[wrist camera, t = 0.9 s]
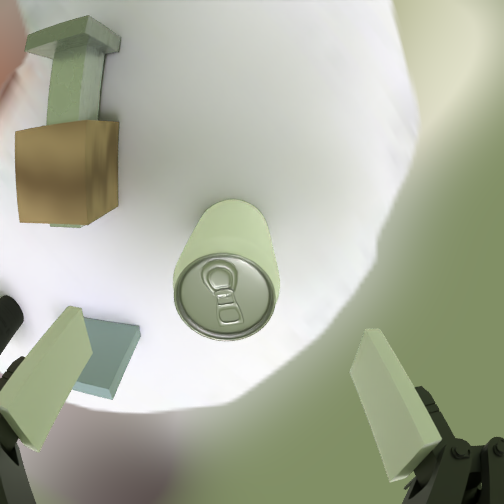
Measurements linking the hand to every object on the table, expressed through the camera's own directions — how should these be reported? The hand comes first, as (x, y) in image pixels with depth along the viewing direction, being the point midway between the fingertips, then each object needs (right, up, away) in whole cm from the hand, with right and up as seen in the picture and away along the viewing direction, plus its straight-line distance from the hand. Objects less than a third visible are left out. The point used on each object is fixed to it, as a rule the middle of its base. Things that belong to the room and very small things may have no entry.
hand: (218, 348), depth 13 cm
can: (0, +6, +15) cm, 16 cm away
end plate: (-16, -4, +18) cm, 25 cm away
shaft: (-14, +16, +10) cm, 24 cm away
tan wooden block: (-15, +13, +12) cm, 23 cm away
